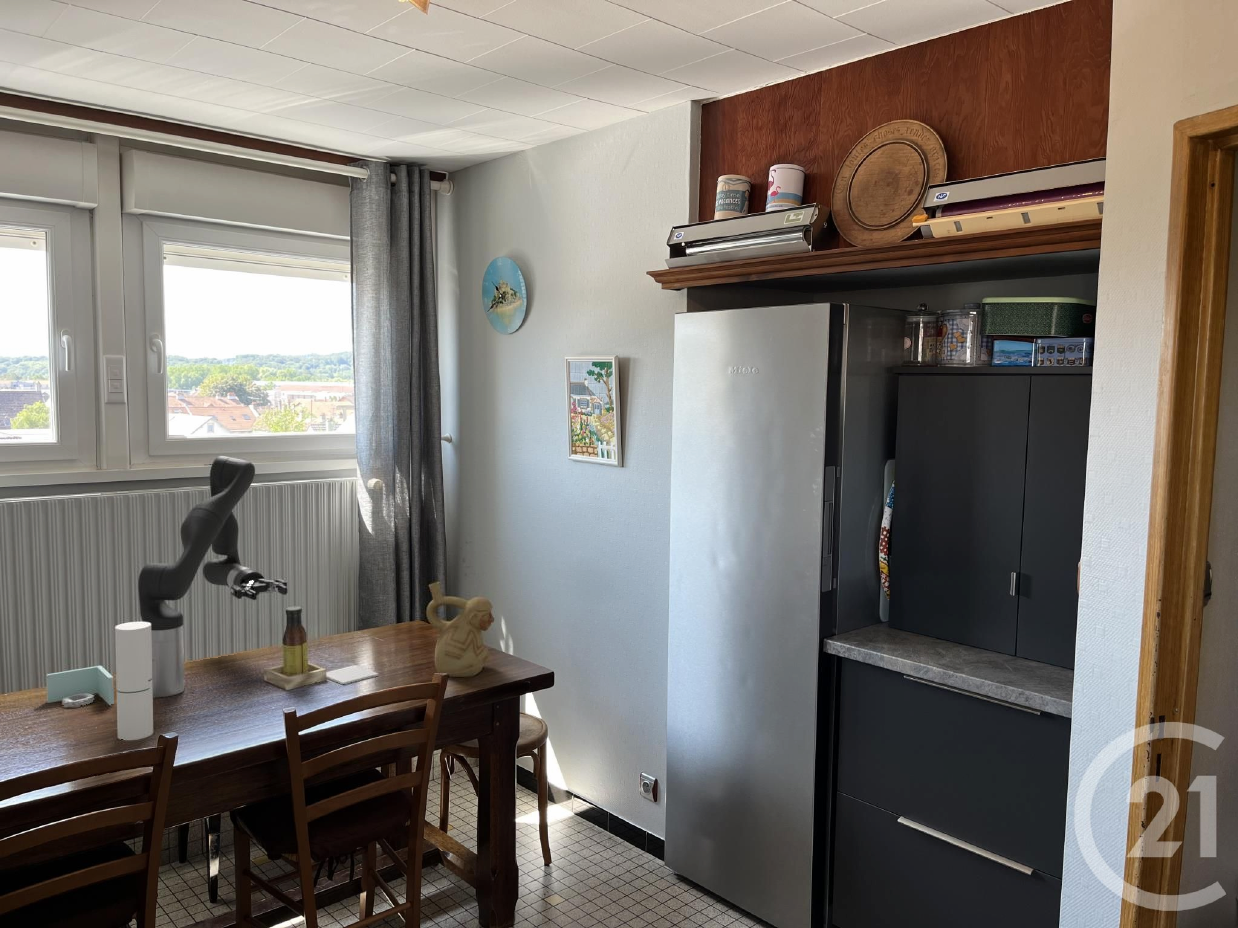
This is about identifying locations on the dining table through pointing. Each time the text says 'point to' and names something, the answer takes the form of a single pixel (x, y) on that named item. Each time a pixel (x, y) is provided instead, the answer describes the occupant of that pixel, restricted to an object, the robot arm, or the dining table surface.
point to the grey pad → (350, 674)
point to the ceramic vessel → (460, 634)
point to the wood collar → (279, 679)
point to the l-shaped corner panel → (80, 686)
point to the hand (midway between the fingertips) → (270, 593)
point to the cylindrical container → (134, 680)
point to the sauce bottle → (294, 644)
